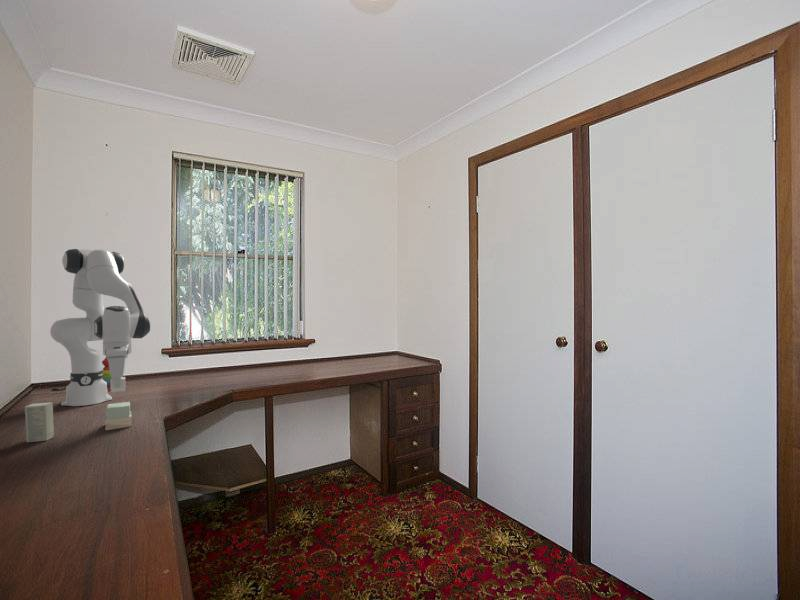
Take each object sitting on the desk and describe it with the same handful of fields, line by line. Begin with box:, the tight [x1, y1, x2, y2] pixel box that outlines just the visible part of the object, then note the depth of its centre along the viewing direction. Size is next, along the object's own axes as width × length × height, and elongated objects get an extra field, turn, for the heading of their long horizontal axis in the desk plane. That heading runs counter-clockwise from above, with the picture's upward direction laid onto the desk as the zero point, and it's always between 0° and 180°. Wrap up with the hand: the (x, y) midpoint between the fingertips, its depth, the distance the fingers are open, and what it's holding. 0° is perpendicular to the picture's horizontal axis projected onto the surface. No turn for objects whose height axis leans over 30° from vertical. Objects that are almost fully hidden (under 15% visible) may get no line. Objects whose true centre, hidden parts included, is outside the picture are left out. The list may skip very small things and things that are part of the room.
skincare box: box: [24, 401, 55, 443], centre depth 142 cm, size 6×4×12 cm
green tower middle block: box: [106, 401, 131, 419], centre depth 157 cm, size 7×7×4 cm
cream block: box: [110, 376, 126, 393], centre depth 157 cm, size 4×4×4 cm
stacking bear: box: [101, 356, 111, 392], centre depth 219 cm, size 11×10×18 cm
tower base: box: [104, 411, 133, 431], centre depth 157 cm, size 8×8×4 cm
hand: (118, 386), depth 157 cm, fingers closed on cream block, 4 cm apart
